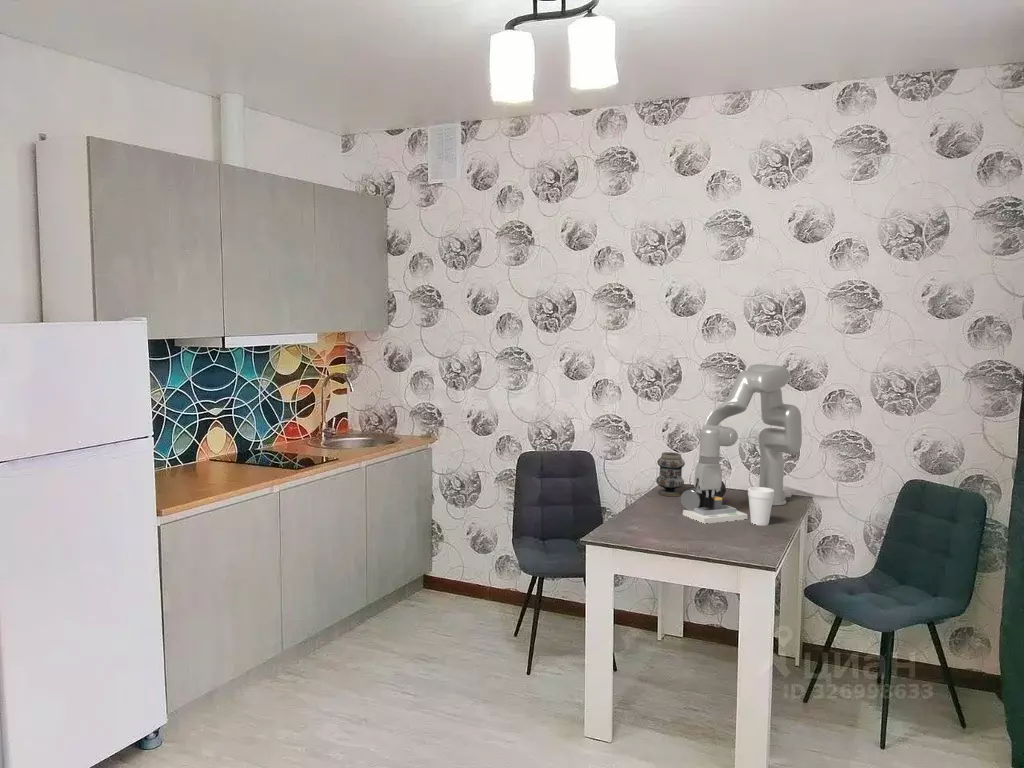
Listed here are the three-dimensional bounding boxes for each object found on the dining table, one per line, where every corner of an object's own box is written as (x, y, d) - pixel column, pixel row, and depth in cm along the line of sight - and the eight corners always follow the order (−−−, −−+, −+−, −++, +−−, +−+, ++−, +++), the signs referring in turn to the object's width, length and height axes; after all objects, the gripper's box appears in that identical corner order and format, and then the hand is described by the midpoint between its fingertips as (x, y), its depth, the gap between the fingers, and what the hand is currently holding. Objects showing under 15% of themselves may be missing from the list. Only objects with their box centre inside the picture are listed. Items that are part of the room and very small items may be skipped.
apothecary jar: (686, 497, 346) (688, 456, 344) (658, 497, 345) (660, 455, 344) (680, 491, 358) (681, 451, 356) (653, 490, 357) (654, 451, 356)
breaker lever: (716, 510, 314) (716, 496, 313) (721, 512, 311) (722, 497, 310) (709, 511, 313) (710, 496, 312) (715, 513, 310) (715, 498, 309)
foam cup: (772, 521, 307) (773, 487, 306) (773, 527, 298) (774, 493, 297) (746, 519, 309) (747, 486, 308) (746, 525, 300) (748, 491, 299)
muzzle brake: (726, 502, 334) (726, 478, 333) (701, 516, 311) (702, 489, 310) (704, 500, 339) (704, 476, 338) (678, 512, 316) (678, 486, 315)
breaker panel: (724, 511, 322) (725, 502, 322) (747, 519, 309) (747, 510, 309) (682, 515, 314) (683, 506, 314) (704, 523, 301) (704, 514, 301)
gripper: (719, 457, 315) (717, 503, 316) (687, 459, 309) (685, 506, 311) (731, 460, 308) (729, 507, 309) (698, 463, 302) (697, 510, 304)
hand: (707, 506), depth 310 cm, fingers closed
